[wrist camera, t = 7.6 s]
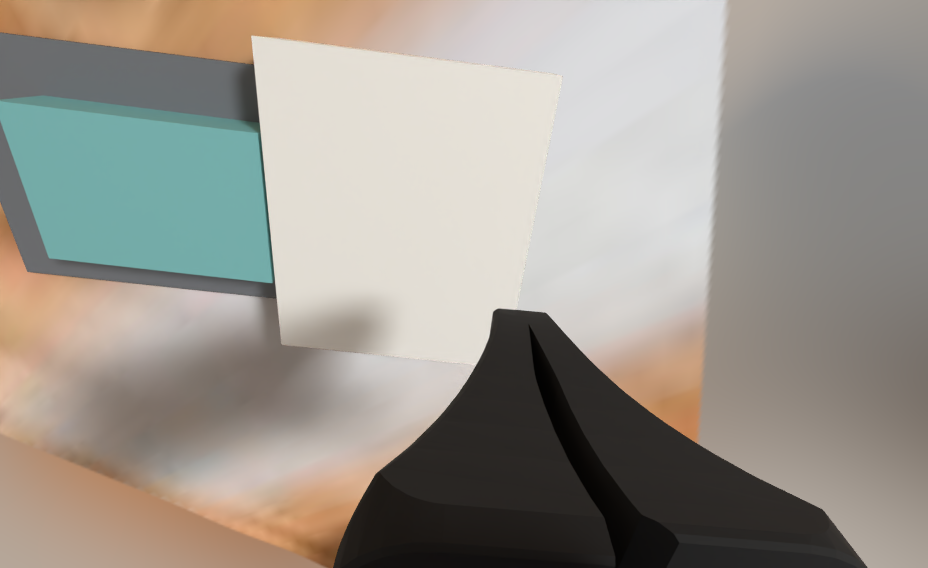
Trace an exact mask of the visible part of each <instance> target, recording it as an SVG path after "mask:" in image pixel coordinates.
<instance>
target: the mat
mask: <svg viewBox="0 0 928 568" xmlns="http://www.w3.org/2000/svg"><path fill="white" fill-rule="evenodd" d="M43 95H44V96H52V97H60V98H67V99H75V100H83V101H91V102H99V103H107V104H115V105H123V106H131V107H139V108H147V109H155V110H163V111H171V112H178V113H186V114H194V115H202V116H210V117H218V118H226V119H234V120H242V121H250V122H258V123H260V120H259V109H258V99H257V89H256V78H255V68H254V65H253V64H245V63H237V62H229V61H221V60H213V59H205V58H198V57H190V56H182V55H174V54H166V53H158V52H150V51H142V50H134V49H127V48H119V47H111V46H103V45H95V44H87V43H79V42H71V41H63V40H56V39H48V38H40V37H32V36H24V35H16V34H8V33H0V100H1V99H12V98H22V97H33V96H43ZM0 202H1V205H2V208H3V210H4V213H5V215H6V218H7V220H8V223H9V226H10V228H11V231H12V233H13V236H14V238H15V241H16V244H17V246H18V249H19V251H20V254H21V256H22V259H23V261H24V264H25V267H26V269H27V272H35V273H44V274H53V275H62V276H72V277H81V278H90V279H100V280H109V281H118V282H128V283H137V284H146V285H156V286H165V287H174V288H184V289H193V290H202V291H211V292H221V293H230V294H239V295H249V296H258V297H267V298H277V295H276V285H275V280H274V282H273V283H265V282H256V281H247V280H238V279H229V278H220V277H211V276H203V275H194V274H185V273H176V272H167V271H158V270H149V269H140V268H131V267H122V266H113V265H104V264H96V263H87V262H78V261H69V260H60V259H51V258H49V257H48V254H47V251H46V249H45V246H44V243H43V240H42V237H41V234H40V232H39V229H38V226H37V223H36V220H35V218H34V215H33V212H32V209H31V206H30V203H29V201H28V198H27V195H26V192H25V189H24V186H23V184H22V181H21V178H20V175H19V172H18V169H17V167H16V164H15V161H14V158H13V155H12V152H11V150H10V147H9V144H8V141H7V138H6V136H5V133H4V130H3V127H2V124H1V121H0Z"/></svg>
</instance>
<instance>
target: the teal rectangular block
mask: <svg viewBox="0 0 928 568" xmlns="http://www.w3.org/2000/svg"><path fill="white" fill-rule="evenodd" d="M0 121H1V124H2V127H3V130H4V133H5V136H6V138H7V141H8V144H9V147H10V150H11V152H12V155H13V158H14V161H15V164H16V167H17V169H18V172H19V175H20V178H21V181H22V184H23V186H24V189H25V192H26V195H27V198H28V201H29V203H30V206H31V209H32V212H33V215H34V218H35V220H36V223H37V226H38V229H39V232H40V234H41V237H42V240H43V243H44V246H45V249H46V251H47V254H48V257H49V258H51V259H60V260H69V261H78V262H87V263H96V264H104V265H113V266H122V267H131V268H140V269H149V270H158V271H167V272H176V273H185V274H194V275H203V276H211V277H220V278H229V279H238V280H247V281H256V282H265V283H273V282H274V280H275V275H274V264H273V254H272V244H271V233H270V223H269V213H268V202H267V192H266V182H265V171H264V161H263V151H262V140H261V130H260V123H258V122H250V121H242V120H234V119H226V118H218V117H210V116H202V115H194V114H186V113H178V112H171V111H163V110H155V109H147V108H139V107H131V106H123V105H115V104H107V103H99V102H91V101H83V100H75V99H67V98H60V97H52V96H44V95H43V96H33V97H22V98H12V99H1V100H0Z"/></svg>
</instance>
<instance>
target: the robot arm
mask: <svg viewBox="0 0 928 568" xmlns="http://www.w3.org/2000/svg"><path fill="white" fill-rule="evenodd" d="M333 568H867V566H866V565H865V564H864V562H863V561H862V560H861V558H860V557H859V556H858V555H857V553H856V552H855V551H854V549H853V548H852V547H851V546H850V544H849V543H848V542H847V540H846V539H845V538H844V536H843V535H842V534H841V533H840V531H839V530H838V529H837V528H836V526H835V525H834V523H833V522H832V521H831V520H830V519H829V517H828V516H827V515H826V513H825V512H824V511H823V510H822V509H820V508H818V507H816V506H814V505H812V504H810V503H808V502H806V501H804V500H802V499H800V498H798V497H796V496H794V495H792V494H790V493H787V492H785V491H783V490H781V489H779V488H777V487H775V486H773V485H771V484H769V483H767V482H765V481H763V480H760V479H759V478H756V477H755V476H753V475H751V474H749V473H747V472H745V471H744V470H742V469H740V468H738V467H736V466H734V465H733V464H731V463H729V462H728V461H726V460H724V459H722V458H720V457H719V456H717V455H715V454H713V453H712V452H710V451H708V450H707V449H705V448H703V447H702V446H700V445H698V444H697V443H695V442H694V441H692V440H690V439H689V438H687V437H686V436H684V435H683V434H681V433H680V432H678V431H677V430H675V429H674V428H672V427H671V426H669V425H668V424H666V423H665V422H663V421H662V420H660V419H659V418H658V417H656V416H655V415H653V414H652V413H651V412H649V411H648V410H647V409H646V408H644V407H643V406H642V405H640V404H639V403H638V402H637V401H635V400H634V399H633V398H631V397H630V396H629V395H628V394H626V393H625V392H624V391H623V390H622V389H620V388H619V387H618V386H617V385H616V384H615V383H614V382H612V381H611V380H610V379H609V378H608V377H607V376H606V375H605V374H604V373H603V372H602V371H600V370H599V369H598V368H597V367H596V366H595V365H594V364H593V363H592V362H591V361H590V360H589V359H588V358H587V357H586V356H585V355H584V354H583V353H582V352H581V351H580V350H579V348H578V347H577V346H576V345H575V344H574V343H573V342H572V341H571V340H570V339H569V338H568V337H567V335H566V334H565V333H564V332H563V331H562V330H561V329H560V328H559V327H558V325H557V324H556V323H555V322H554V321H553V320H552V319H551V318H550V317H549V315H548V314H547V313H542V312H532V311H522V310H511V309H501V308H498V309H496V310H495V311H493V315H492V322H491V329H490V335H489V339H488V342H487V344H486V346H485V349H484V351H483V353H482V355H481V357H480V359H479V361H478V363H477V365H476V367H475V368H474V370H473V372H472V374H471V375H470V377H469V379H468V380H467V382H466V383H465V385H464V386H463V388H462V389H461V390H460V392H459V393H458V395H457V396H456V397H455V398H454V400H453V401H452V402H451V403H450V405H449V406H448V407H447V408H446V410H445V411H444V412H443V413H442V414H441V416H440V417H439V418H438V419H437V420H436V421H435V422H434V423H433V424H432V425H431V426H430V427H429V428H428V429H427V430H426V431H425V432H424V433H423V434H422V435H421V436H420V437H419V438H418V439H417V440H416V441H415V442H414V443H413V444H412V445H411V446H409V447H408V448H407V449H406V450H405V451H404V452H402V453H401V454H400V455H399V456H397V457H396V458H395V459H394V460H392V461H391V462H390V463H389V464H387V465H386V466H385V467H384V468H382V469H381V470H380V471H379V472H377V473H376V475H375V476H374V478H373V480H372V481H371V483H370V485H369V486H368V488H367V490H366V492H365V493H364V495H363V497H362V499H361V500H360V502H359V504H358V506H357V508H356V510H355V512H354V514H353V516H352V518H351V520H350V522H349V524H348V526H347V529H346V531H345V533H344V536H343V538H342V541H341V543H340V546H339V549H338V552H337V555H336V559H335V563H334V567H333Z"/></svg>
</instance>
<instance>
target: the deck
mask: <svg viewBox="0 0 928 568" xmlns="http://www.w3.org/2000/svg"><path fill="white" fill-rule="evenodd" d="M251 37H252V47H253V58H254V68H255V78H256V89H257V99H258V109H259V120H260V130H261V140H262V151H263V161H264V171H265V182H266V192H267V202H268V213H269V223H270V233H271V244H272V254H273V264H274V275H275V285H276V295H277V306H278V316H279V326H280V337H281V345H287V346H297V347H306V348H316V349H325V350H335V351H345V352H354V353H364V354H374V355H383V356H393V357H403V358H412V359H422V360H432V361H441V362H451V363H461V364H470V365H477V363H478V361H479V359H480V357H481V355H482V353H483V351H484V349H485V346H486V344H487V342H488V339H489V335H490V329H491V322H492V315H493V311H495V310H496V309H498V308H501V309H511V310H516V309H517V304H518V299H519V294H520V289H521V284H522V279H523V274H524V269H525V264H526V259H527V254H528V249H529V244H530V239H531V234H532V229H533V224H534V219H535V214H536V209H537V204H538V199H539V194H540V189H541V184H542V179H543V174H544V169H545V164H546V159H547V154H548V149H549V144H550V139H551V134H552V128H553V123H554V118H555V113H556V108H557V103H558V98H559V93H560V88H561V83H562V78H563V76H561V75H557V74H553V73H547V72H539V71H531V70H523V69H516V68H508V67H500V66H492V65H485V64H477V63H469V62H462V61H454V60H446V59H438V58H431V57H423V56H415V55H407V54H400V53H392V52H384V51H376V50H369V49H361V48H353V47H346V46H338V45H330V44H322V43H315V42H307V41H299V40H291V39H284V38H273V37H261V36H251Z"/></svg>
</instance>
